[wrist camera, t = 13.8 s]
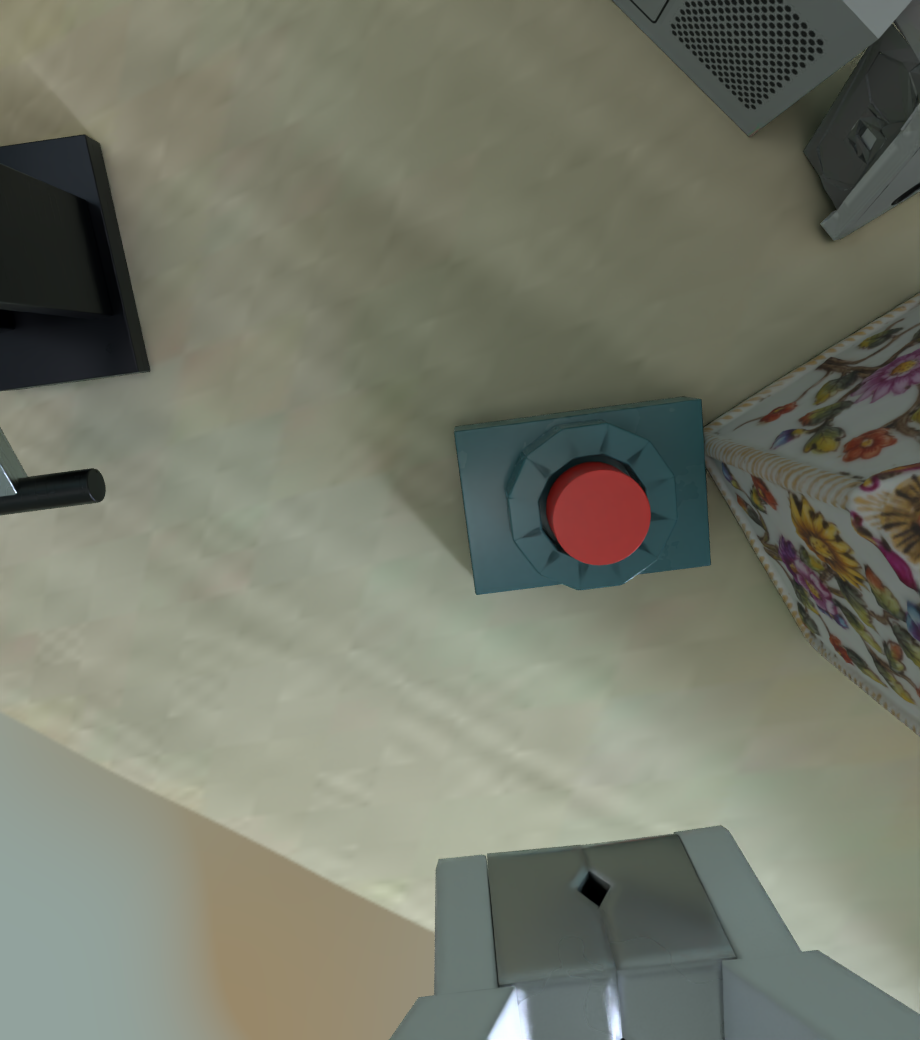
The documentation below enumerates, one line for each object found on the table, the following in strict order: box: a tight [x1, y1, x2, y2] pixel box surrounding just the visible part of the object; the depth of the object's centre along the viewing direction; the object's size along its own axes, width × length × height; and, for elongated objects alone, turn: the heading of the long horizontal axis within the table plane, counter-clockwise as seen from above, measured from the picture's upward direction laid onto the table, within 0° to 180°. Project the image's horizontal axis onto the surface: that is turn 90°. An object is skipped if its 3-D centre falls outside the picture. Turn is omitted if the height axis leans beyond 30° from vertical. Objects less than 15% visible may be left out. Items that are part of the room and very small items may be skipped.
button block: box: [454, 396, 711, 595], centre depth 30 cm, size 10×7×4 cm
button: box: [546, 462, 651, 565], centre depth 27 cm, size 4×4×2 cm
